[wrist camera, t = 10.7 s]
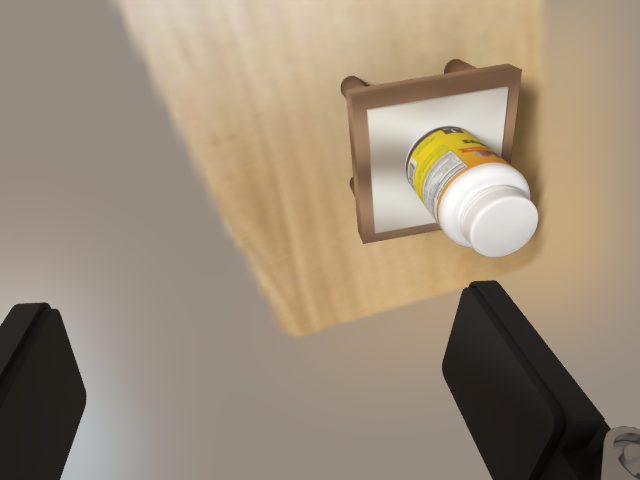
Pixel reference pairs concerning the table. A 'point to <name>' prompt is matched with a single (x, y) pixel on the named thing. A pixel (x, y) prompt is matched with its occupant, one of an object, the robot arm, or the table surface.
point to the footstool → (408, 125)
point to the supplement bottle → (471, 191)
